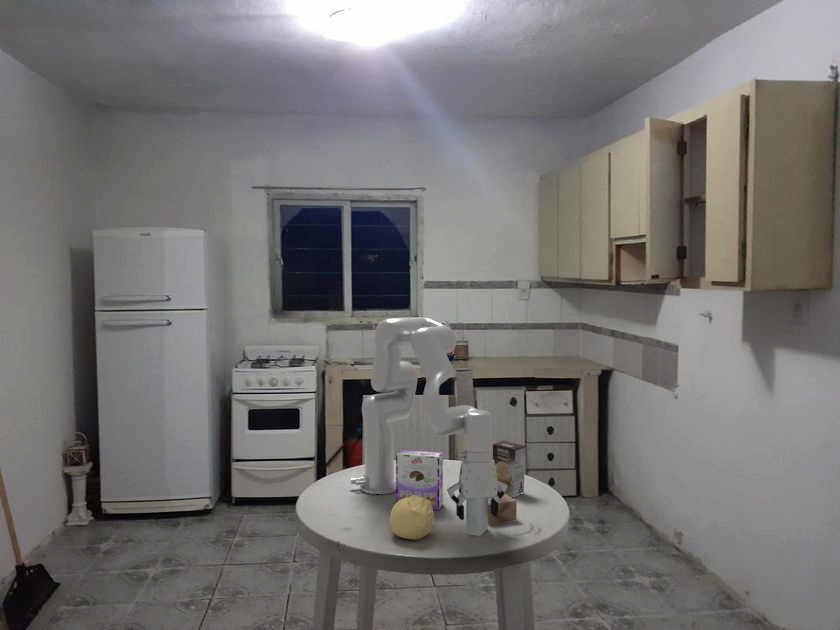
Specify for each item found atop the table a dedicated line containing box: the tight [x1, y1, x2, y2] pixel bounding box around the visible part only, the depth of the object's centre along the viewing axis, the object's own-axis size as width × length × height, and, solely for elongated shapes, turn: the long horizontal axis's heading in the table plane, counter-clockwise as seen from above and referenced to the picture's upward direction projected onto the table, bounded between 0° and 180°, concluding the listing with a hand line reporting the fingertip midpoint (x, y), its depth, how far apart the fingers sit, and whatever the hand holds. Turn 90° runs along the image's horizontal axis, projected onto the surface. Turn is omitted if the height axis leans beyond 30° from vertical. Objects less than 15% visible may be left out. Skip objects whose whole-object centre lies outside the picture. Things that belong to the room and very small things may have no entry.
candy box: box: [395, 449, 444, 511], centre depth 200 cm, size 14×6×16 cm, turn 74°
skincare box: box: [465, 493, 489, 537], centre depth 180 cm, size 6×4×12 cm
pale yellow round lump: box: [389, 495, 435, 541], centre depth 177 cm, size 11×12×11 cm
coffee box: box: [492, 440, 526, 498], centre depth 212 cm, size 9×6×16 cm
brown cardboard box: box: [488, 493, 517, 526], centre depth 191 cm, size 9×9×6 cm
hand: (477, 516), depth 180 cm, fingers open, 9 cm apart
